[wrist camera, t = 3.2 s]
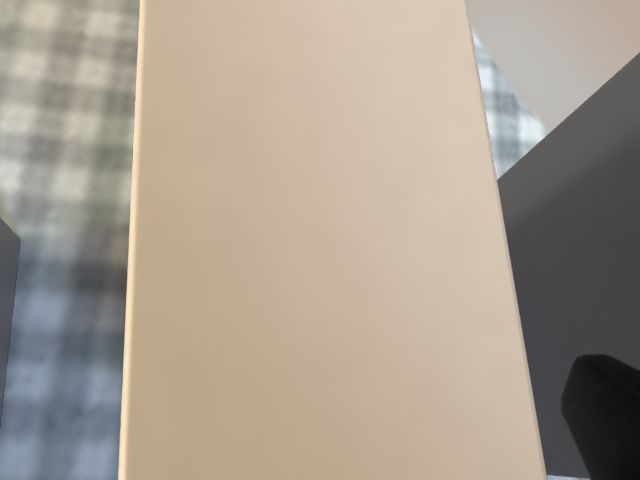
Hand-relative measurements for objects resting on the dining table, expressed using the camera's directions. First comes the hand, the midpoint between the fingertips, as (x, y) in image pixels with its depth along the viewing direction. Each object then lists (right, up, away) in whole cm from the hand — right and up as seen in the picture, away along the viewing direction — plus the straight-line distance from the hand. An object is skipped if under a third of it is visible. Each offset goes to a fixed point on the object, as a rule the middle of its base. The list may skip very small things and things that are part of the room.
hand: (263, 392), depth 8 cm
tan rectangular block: (-2, -1, +9) cm, 10 cm away
